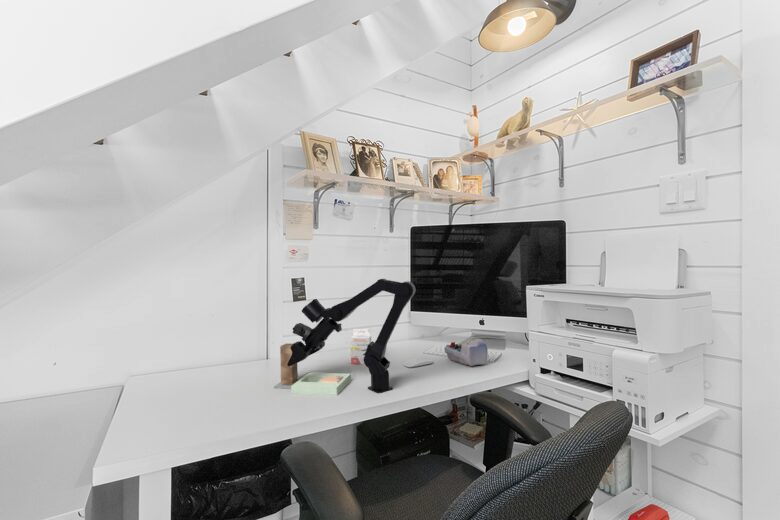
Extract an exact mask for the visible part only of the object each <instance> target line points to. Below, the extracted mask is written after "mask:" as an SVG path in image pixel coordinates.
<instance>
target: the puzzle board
mask: <svg viewBox="0 0 780 520" xmlns="http://www.w3.org/2000/svg"><path fill="white" fill-rule="evenodd" d="M298 380H299V381H297V382H296V383H294V384H293V385H292V386H291V389H290V392H291V394H300V395H301V394H302V395H323V396H324V395H325V396H338V395H339V394H340V393H341V391H343V389H344V388H345V387H346V386H347V385H349V383H350V382H351V381H352V373H340V372H339V373H338V372H336V373H335V372H334V373H333V372H309V373H307V374H305V375H304V376H303V377H301V378H300V379H298Z"/></svg>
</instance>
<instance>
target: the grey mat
mask: <svg viewBox="0 0 780 520" xmlns="http://www.w3.org/2000/svg"><path fill="white" fill-rule="evenodd" d="M299 380H300V379H298V381H299ZM278 388H282V389H283V390H291V386H289V385H281V381H280V382H279V383H277V384H276V385H274V386H273V389H278ZM282 389H281V390H282Z"/></svg>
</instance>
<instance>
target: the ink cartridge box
mask: <svg viewBox="0 0 780 520" xmlns="http://www.w3.org/2000/svg"><path fill="white" fill-rule="evenodd" d="M371 330H372V329H371V328H353V329H352V336H351V337H350V364H351V365H365V363H364V356H365V355H363V354H364V353H365V352H366V350H367V346H368V344H370V343H371V342H372V334H371V333H372V331H371ZM361 331H362V332H361Z"/></svg>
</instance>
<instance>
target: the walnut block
mask: <svg viewBox="0 0 780 520" xmlns="http://www.w3.org/2000/svg"><path fill="white" fill-rule="evenodd" d="M292 345H293V343H283V344H282V345H279V347H280V352H279V354H280V382H281V385H289V386H292V385H293V384H294V383H296V382H297V381H298V380H299V379H298V363H296V364H294V365H292V366H288V365H287V363H288V361H289V359H290V357H291V355H292V351H291V349H290V347H291V346H292Z"/></svg>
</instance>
